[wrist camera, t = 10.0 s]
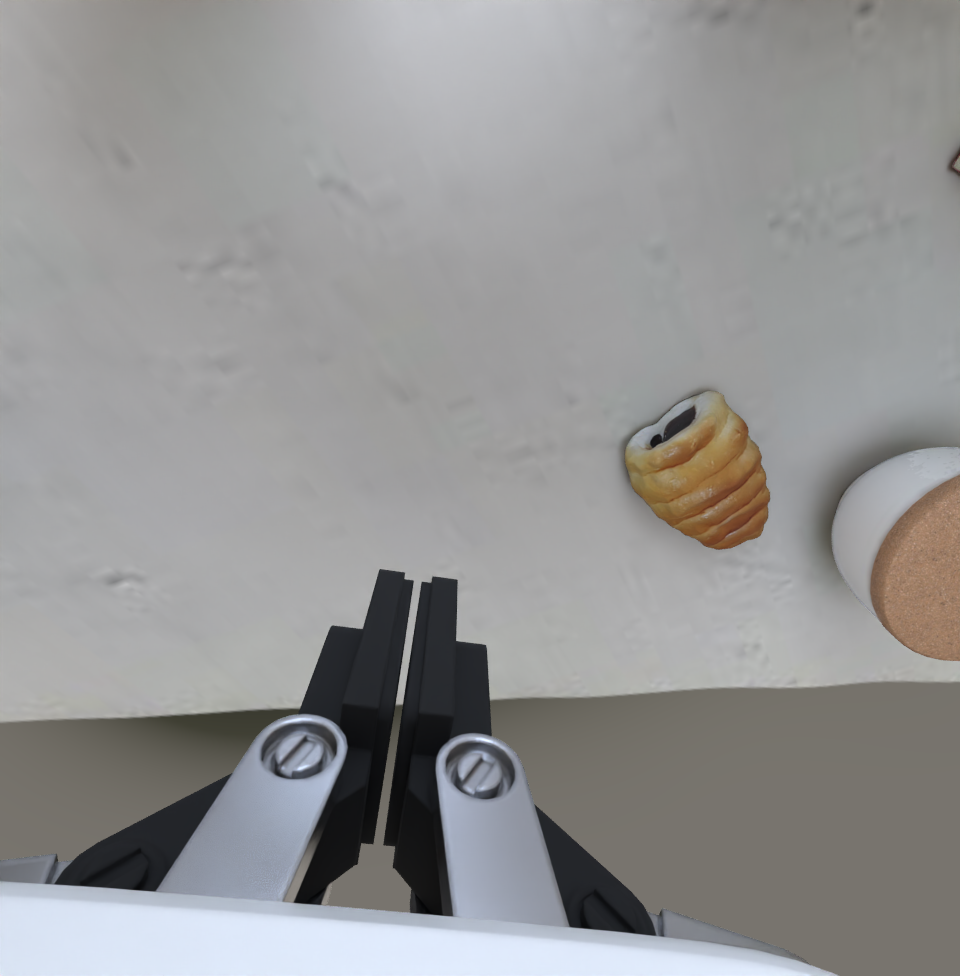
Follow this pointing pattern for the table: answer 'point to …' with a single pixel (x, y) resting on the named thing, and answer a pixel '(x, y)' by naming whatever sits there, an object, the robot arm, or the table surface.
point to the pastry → (701, 472)
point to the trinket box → (906, 547)
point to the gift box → (957, 164)
